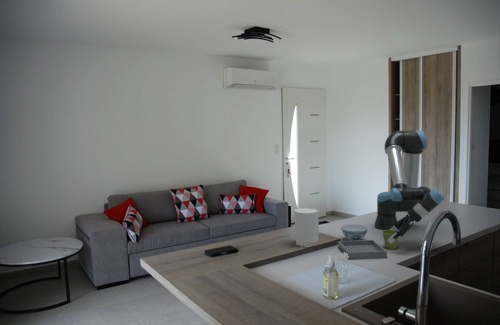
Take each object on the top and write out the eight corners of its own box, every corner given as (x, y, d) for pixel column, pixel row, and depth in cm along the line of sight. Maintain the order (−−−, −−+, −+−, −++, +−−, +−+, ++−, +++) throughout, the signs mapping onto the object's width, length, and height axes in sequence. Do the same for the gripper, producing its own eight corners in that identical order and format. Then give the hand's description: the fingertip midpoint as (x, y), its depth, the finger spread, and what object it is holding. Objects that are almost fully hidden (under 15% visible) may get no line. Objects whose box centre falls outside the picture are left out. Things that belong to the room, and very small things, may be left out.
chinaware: (338, 242, 226) (338, 229, 225) (344, 235, 239) (344, 223, 239) (364, 245, 219) (364, 232, 219) (369, 238, 232) (369, 225, 232)
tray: (338, 247, 218) (338, 241, 218) (373, 245, 219) (373, 239, 218) (348, 259, 198) (348, 252, 198) (386, 257, 199) (386, 251, 198)
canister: (304, 249, 217) (303, 214, 214) (290, 242, 228) (290, 209, 226) (323, 245, 223) (322, 211, 221) (309, 239, 235) (308, 206, 233)
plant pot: (401, 250, 209) (401, 234, 209) (383, 249, 211) (383, 234, 210) (398, 245, 219) (398, 230, 218) (381, 244, 220) (381, 229, 220)
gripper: (426, 223, 196) (395, 250, 202) (419, 212, 220) (391, 236, 226) (415, 213, 197) (384, 240, 203) (409, 203, 221) (381, 227, 227)
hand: (388, 238), depth 214 cm, fingers open, 13 cm apart
